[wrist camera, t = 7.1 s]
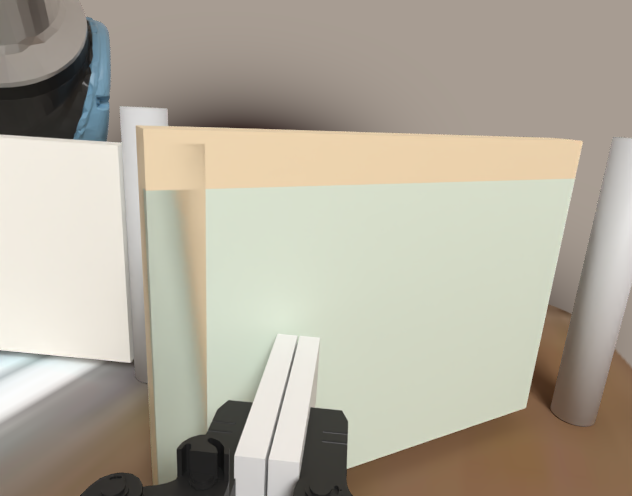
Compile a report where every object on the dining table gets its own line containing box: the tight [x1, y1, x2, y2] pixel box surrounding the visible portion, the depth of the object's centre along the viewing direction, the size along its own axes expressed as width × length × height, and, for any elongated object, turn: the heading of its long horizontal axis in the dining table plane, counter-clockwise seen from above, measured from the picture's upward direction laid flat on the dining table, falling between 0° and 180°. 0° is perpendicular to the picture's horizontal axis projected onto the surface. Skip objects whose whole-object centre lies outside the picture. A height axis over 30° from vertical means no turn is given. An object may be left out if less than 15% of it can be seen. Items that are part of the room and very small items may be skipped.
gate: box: [136, 125, 583, 485], centre depth 21 cm, size 20×2×15 cm, turn 117°
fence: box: [0, 106, 632, 426], centre depth 28 cm, size 3×43×16 cm, turn 85°
